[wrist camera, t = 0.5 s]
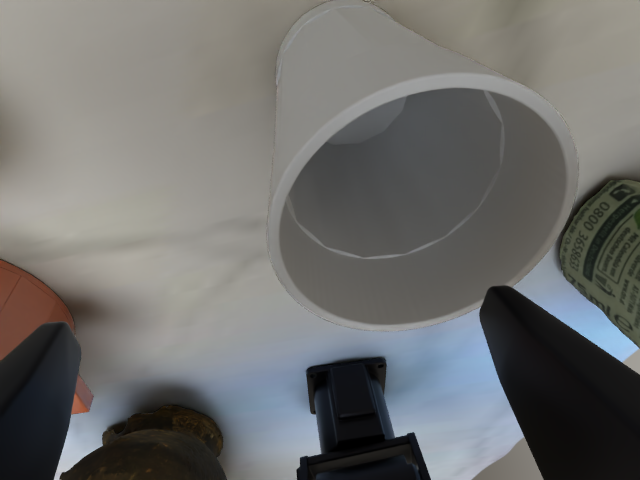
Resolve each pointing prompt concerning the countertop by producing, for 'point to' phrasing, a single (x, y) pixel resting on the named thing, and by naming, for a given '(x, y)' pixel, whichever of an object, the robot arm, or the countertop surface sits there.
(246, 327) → the countertop surface
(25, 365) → the robot arm
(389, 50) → the cup
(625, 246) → the pouch
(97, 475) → the pottery vessel
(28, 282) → the pot
